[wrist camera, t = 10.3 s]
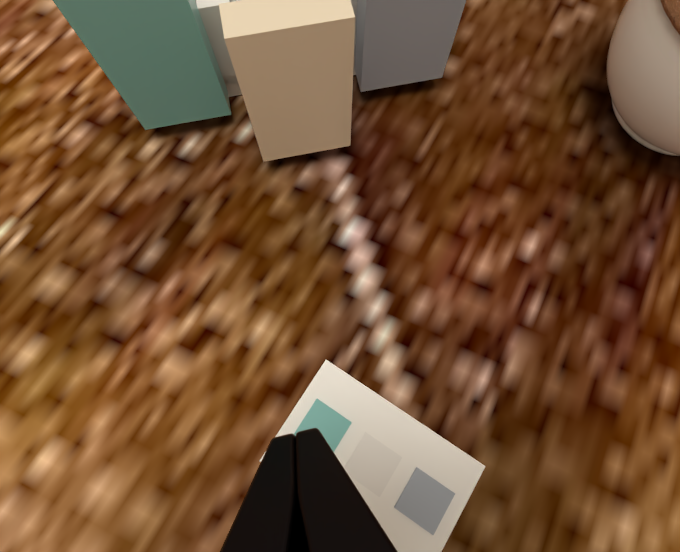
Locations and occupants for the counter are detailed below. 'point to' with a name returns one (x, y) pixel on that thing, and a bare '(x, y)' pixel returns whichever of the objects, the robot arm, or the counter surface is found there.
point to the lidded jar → (647, 73)
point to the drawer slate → (403, 40)
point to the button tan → (293, 71)
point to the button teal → (153, 57)
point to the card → (389, 459)
